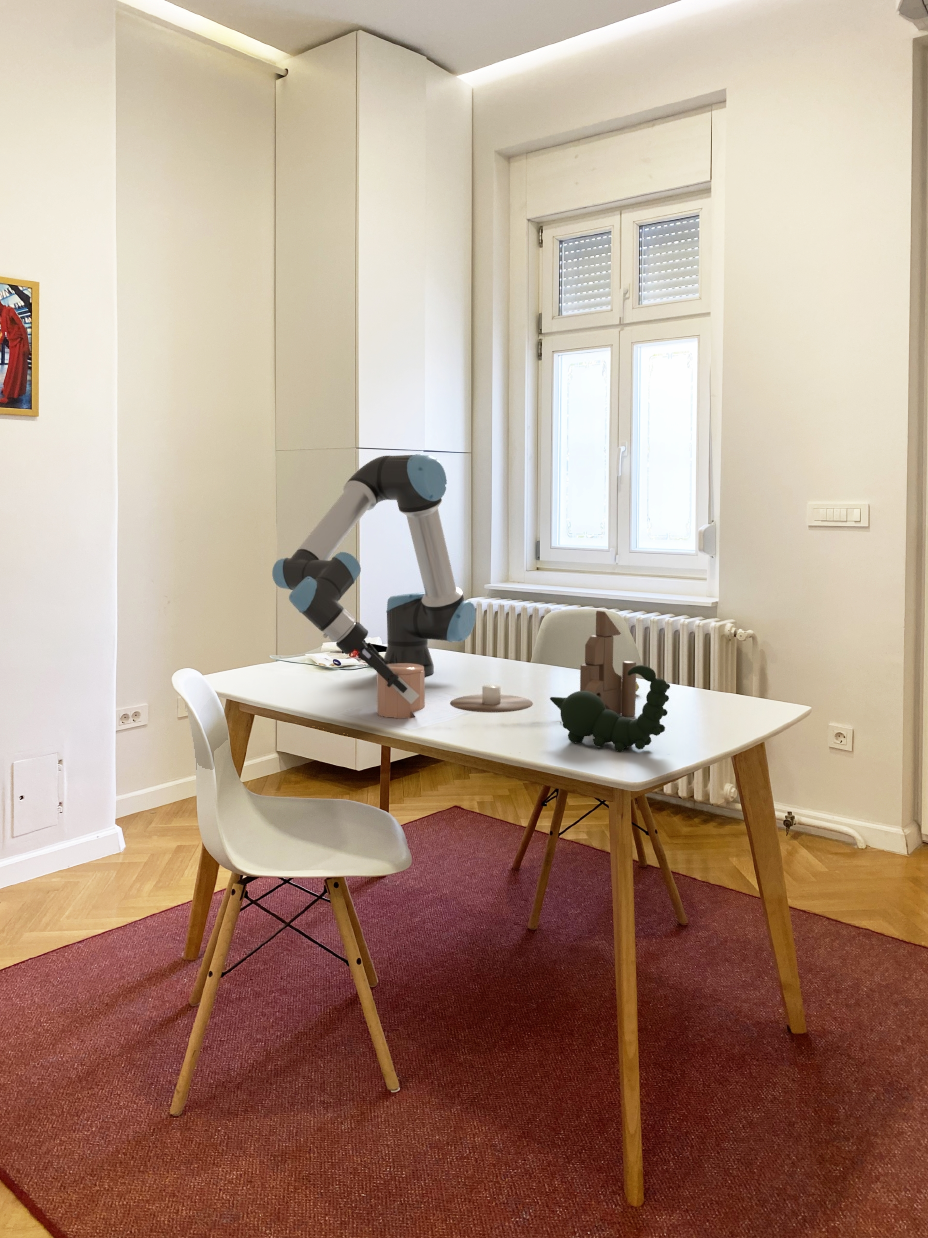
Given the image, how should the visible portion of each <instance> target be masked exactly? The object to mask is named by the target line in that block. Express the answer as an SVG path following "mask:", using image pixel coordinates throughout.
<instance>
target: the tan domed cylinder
mask: <svg viewBox="0 0 928 1238" xmlns="http://www.w3.org/2000/svg"><path fill="white" fill-rule="evenodd" d="M386 665H387V666H388V667H389V668H390V669H391V670H392V671H393V672H394V673H395V674H396V675H398V677H400V678H401V679H402V680H403V681H404V682H405V683H407V684H408V685H409V686H410V687H411V688H412V689H413V690H414V691H415V692H416V693H417V694H418V695H419V697H418V698H417V699H416V700H415V701H414V702H413V703H412V704H410V703H409V702H408V701H407V700H406V699H405V698H404V697H403V696H402V695H401V694H400V693H399V692H398V691H397V690H395V689H394V688H393V687H392V686H390V687H388V686H387V684H388V682H387V681H386V680H385V679H384V678H383V677H382V676H381V675H380V674H379V673H378V672H377V671H376V705H377V706H376V707H377V708H376V710H377V712H378V713H377V715H378V716H380V715H381V717H383V716H385V717H384V718H387V717H394V718H393V719H412V718H416V716H415V714H414V712H416V711H420V710H423V709H425V707H426V704H425V703H426V701H425V699H426V697H425V696H426V693H425V691H426V688H425V687H426V685H425V677H426V676H425V671H424V666H422V665H419V664H411V663H393V664H386ZM411 717H412V718H411Z"/></svg>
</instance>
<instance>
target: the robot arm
mask: <svg viewBox="0 0 928 1238" xmlns="http://www.w3.org/2000/svg"><path fill="white" fill-rule="evenodd" d="M447 481H448V480H447V474H446V472H445V469H444V466H443V465H442V463H441V462H440V461H439V460H438V459H437V458H435V457H433V456H432V455H427V454H426V455H425V454H418V453H417V454H408V455H406V454H403V455H381V456H379V457H376V458H374V459H372V460H370V461H369V462H367V463H365V464H364V465H363V466H361V467H360V468H359V469H358V470H357V471H356V472H355V473H354V474H352V476H351V477H350V478H349V479H348V480H347V481H346V483H345V484H344V486H343V489H342V490H343V493H342V494H341V495H340V496H339V497H338V498H337V500H336V501H335V502H334V504H332V506H331V507H330V509H329V510H328V511H326V513H325V515H324V516H323V517H322V519H321V520H320V521H319V522H318V523H317V525H316V526H315V527H314V528H313V530H311V532H309V533H310V534H309V535H308V536H306V539H305V540H303V542H302V543H301V544H300V546H299V547H298V548H297V549H296V551H295V552H294V553H293V555H291V557H285V558H280V559H277V560H276V562H274V564H273V567H272V571H271V572H272V579H273V582H274V584H275V585H276V586H277V587H279V588H280V589H285V590H289V591H291V592H290V594H289V595H288V600H289V602H290V603H291V604H292V605H293V607H294V608H295V609H296V610H297V611H298V612H299V613H300V614H302V615H303V616H304V617H305V618H306V619H308V621H309V622H311V624H313V625H314V626H315V627H316V628H318V630H319V631H320V632H322V633H323V635H322V637H323V638H324V639H326V638H328V639H329V640H330V641H331V642H332V643H336V644H335V645H336V647H337V648H339V650H340V651H341V652H343V654H345V655H350V654H351V653H353V652H354V651H357V652H358V653H357V656H358V657H359V659H361V660H362V661H364V662H365V663H366V664H367V665H368V666H369V667H370V668H373V669H374V671H375V672H376V673H377V672H378V673H379V674H380V675H381V676H382V677H383V678H384V679H385V680H386V681H387V682H388V684H387V686H388V687H390V686H392V687H393V688H394V689H395V690H397V691H398V692H399V693H400V694H401V695H402V696H403V697H404V698H405V699H406V700H407V701H408V702H409V703H410V704H412V703H413V702H414V701H415V700H416V699H417V698H418V697H419V695H418V694H417V693H416V692H415V691H414V690H413V689H412V688H411V687H410V686H409V685H408V684H407V683H405V682H404V681H403V680H402V679H401V678H400V677H398V675H396V674H395V673H394V672H393V671H392V670H391V669H390V668H389V667H388V666H387V665H386V664H393V663H411V664H419V665H422V666H424V671H425V677H427V676H431V675H432V674H434V673H435V666H434V662H433V659H432V656H431V652H430V649H429V646H428V640H435V641H444V642H445V641H446V642H449V643H452V642H454V643H455V642H456V643H457V642H460V643H461V642H463V641H466V640H467V639H468V638H469V637H470V635H471V634H472V631H473V630H474V627H475V624H476V618H477V617H476V608H475V605H474V603H473V602H472V601H470V600H466V599H465V597H464V593H463V590H462V589H461V588H460V587H458V586H456V582H455V579H454V575H453V574H454V573H453V569H452V564H451V560H450V556H449V553H448V552H449V551H448V547H447V544H446V543H447V542H446V538H445V534H444V530H443V526H442V521H441V518H440V517H441V516H440V513H439V512H440V511H439V506H440V505H441V503H442V502H443V499H442V498H443V496H444V495H445V494H446V490H447V484H448V483H447ZM387 500H388V501H396V503H397V507H398V510H399V512H400V513H402V514H404V515H406V519H407V524H408V527H409V532H410V535H411V540H412V544H413V548H414V552H415V556H416V560H417V561H416V562H417V564H418V569H419V573H420V576H421V580H422V585H423V590H424V592H414V593H406V594H398V595H396V594H395V595H392V596H390V597H389V598H388V599H387V602H386V603H387V604H386V612H385V613H386V630H387V631H386V636H387V637H386V638H387V639H386V641H387V645H386V646H387V647H386V650H385V654H384V657H383V656H382V655H381V654H380V653H379V651H378V650H377V649H376V648H375V647H374V645H373V644H372V643H370V642H366V640H365V639H366V638H367V636H368V634H369V631H368V629H366V628H365V627H364V626H363V625H362V624H361V623H360V622H358V621H356V618H355V617H354V615H352V614H351V613H350V612H349V611H348V610H347V609H346V608H345V607H343V606H342V605H341V604H340V602H339V601H340V600H341V599H342V597H343V596H344V595H345V594H346V593H347V592H348V590H349V589H351V587H352V585H354V584H355V581H356V580H357V579H358V577H360V575H361V569H362V568H361V565H360V563H359V561H358V560H357V558H356V557H355V556H353V555H352V554H350V553H349V552H345V551H340V552H338V553H336V554H335V555H334V556H333V554H334V553H335V552H336V550H337V549H339V546H340V545H341V544H342V543H343V541H344V540H345V539H346V538H347V536H348V535H349V533H350V532H351V531H352V530H353V528H355V526H356V524H358V522H359V520H361V518H363V516H364V514H365V513H366V512H367V511H370V510H373V509H374V508H375V507H376V505H377V504H378V503H380V502H383V501H387ZM332 556H333V557H332ZM331 557H332V558H331ZM330 558H331V559H330Z"/></svg>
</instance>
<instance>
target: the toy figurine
mask: <svg viewBox="0 0 928 1238" xmlns="http://www.w3.org/2000/svg"><path fill="white" fill-rule="evenodd" d="M632 674H636V675H638V676H639V675H640V676H641V677H642V678H643V679H644V680H645V681H647V682H648V683H649V682H650V683H649V684H650V685H649V691H648V693H647V694H646V696H645V697H646V702H645V703H644V704H643V707H642V710H641V711H642V713H640V714H639V715H638V717H637V718H635V719H631V718H630V717H626V716H622V717H621V715H620V714H619V715H618V714H617V713H616V712H614V711H612V710H609V709H606V707H605V704H604V702H603V701H602V700H601V698H600V697H598V696H597V695H596V694H594V693H592V692H589V691H580V690H579V691H575V692H572V693H570V694H568V696H567V697H559V696H550V697H549V700H550V701H551V702H552V703H553V704H554V705H555V706H556V707H557V708H558V709H559V710H560V718H561V723H562V727H563V728H564V729H565V730H567V731H568V734H567V739H568V740H569V742H571V743H573V744H580V743H582V742H583V741H584V739H585V737H591V736H593V739H592V743H593V745H594V746H595V748H596V747H597V748H602V747H604V746H605V744H608V743H612V744H613V745H614V746H613V748H614V749H615V751H616V752H618V753H621V752H624V749H625V748H630V747H632V746H633V745H634V748H636V749H637V750H643V749H644V748H645V747H646V746H649V745H651V743H652V738H651V735H653V736H656V737H657V736H659V735H661V734H663V733H664V732H666V727H665V725H664V724H661V720H662V718H663V717H666V716H667V715H668V710H667V708H664V705H665V704H666V703H668V701H670V700H669V699H670V698H669V695H667V694H666V693H667V691H668V690H670V688H671V686H670V685H671V684H670V683H667V681H666V680H665V679H663V678H660V677H659V678H658V677H657V674H656V672H655V670H654V669H653V668H652V667H649V666H647V665H643V664H640V665H638V664H636V666H634V667H632V668H631V669H630V670H629V671H628V675H629V676H630V675H632Z"/></svg>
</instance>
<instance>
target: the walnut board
mask: <svg viewBox="0 0 928 1238" xmlns="http://www.w3.org/2000/svg"><path fill="white" fill-rule="evenodd" d="M449 702H450V703H449V704H450V706H452V707H453V708H455V709H458V710H462V711H468V712H476V713H509V712H511V713H512V712H517V711H522V710H526V709H529V708H530V707H532V706H533V705H534V702H533V701H532V700H530V699H529V698H525V697H523V696H522V697H521V696H517V695H511V694H501V703H500V704H497V705H486V704H483V703H482V693H481V694H473V695H472V694H469V695H465V696H464V695H463V696H460V697H456V698H454V699H452V700H450V701H449Z"/></svg>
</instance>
